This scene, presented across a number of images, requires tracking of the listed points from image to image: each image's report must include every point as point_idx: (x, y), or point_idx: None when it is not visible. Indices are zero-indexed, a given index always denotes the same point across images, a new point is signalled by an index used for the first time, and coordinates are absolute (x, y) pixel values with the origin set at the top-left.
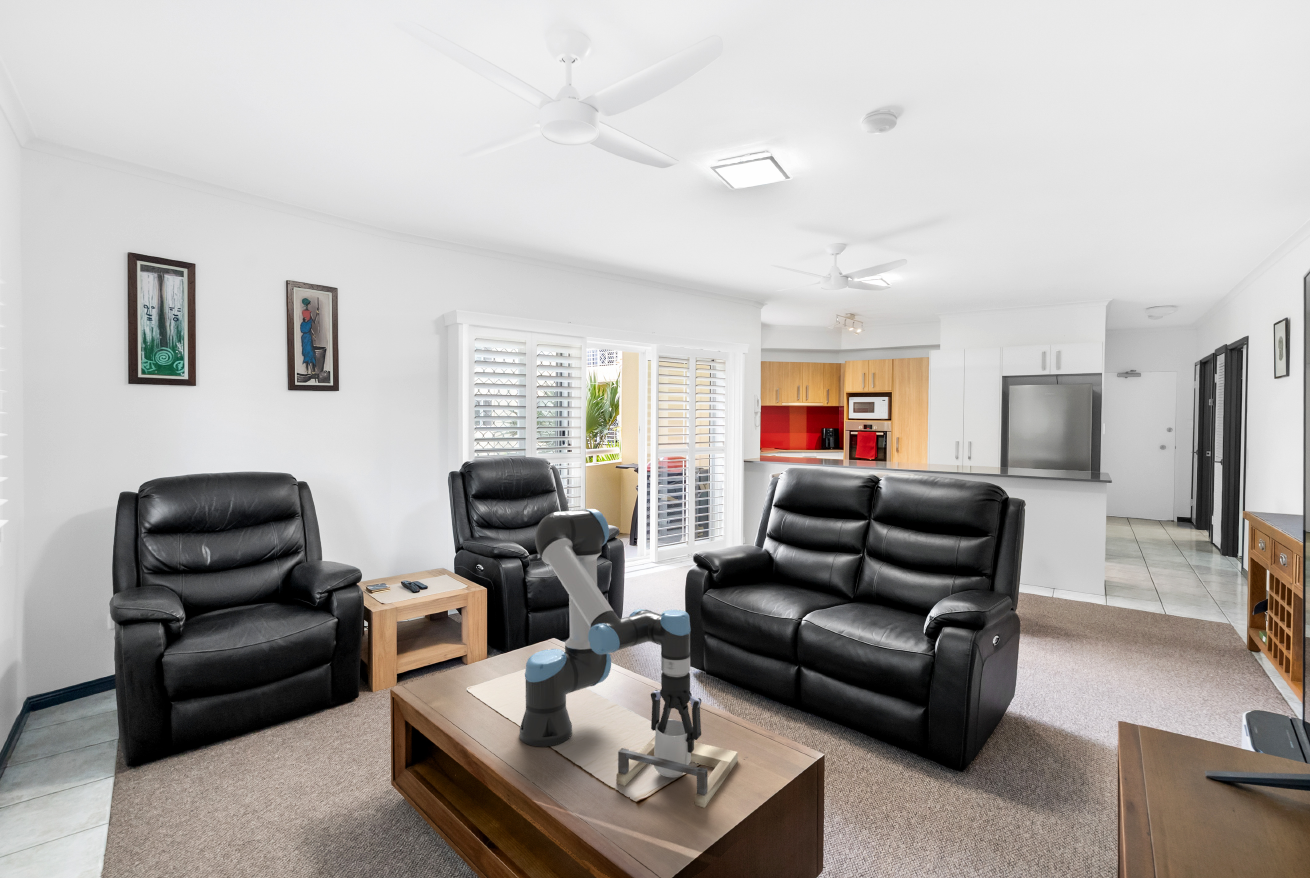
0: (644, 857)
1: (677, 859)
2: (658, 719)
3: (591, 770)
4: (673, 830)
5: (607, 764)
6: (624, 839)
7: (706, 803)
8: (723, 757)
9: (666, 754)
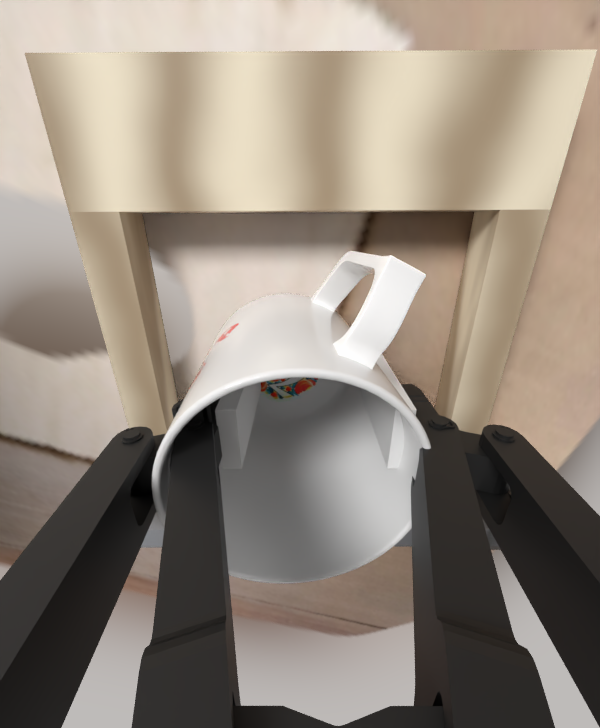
0: (371, 616)
1: None
2: (128, 489)
3: (36, 434)
4: (399, 549)
5: (45, 382)
6: (311, 598)
7: None
8: (510, 175)
9: (302, 482)
